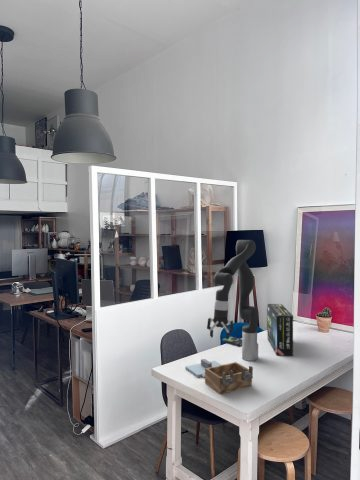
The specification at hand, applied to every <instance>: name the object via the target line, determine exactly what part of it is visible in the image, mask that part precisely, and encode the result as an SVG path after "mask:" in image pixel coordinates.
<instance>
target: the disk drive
mask: <svg viewBox="0 0 360 480" xmlns="http://www.w3.org/2000/svg"><path fill="white" fill-rule="evenodd" d="M221 342H222V343H224V344H227V345H232V346H235V347H238V348H239V347H242V338H238V337H235V336H232V335H229V339H228V340H227V339H226V337H225V338H222V340H221Z"/></svg>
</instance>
